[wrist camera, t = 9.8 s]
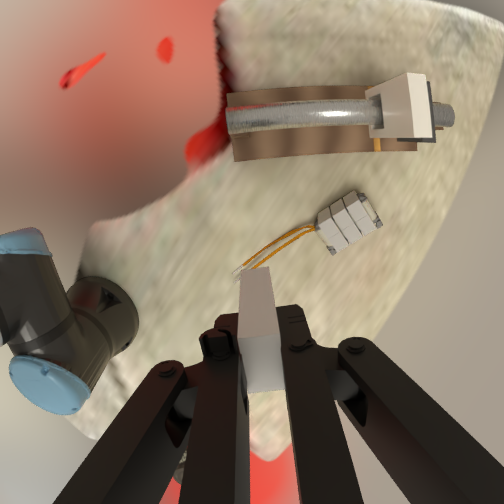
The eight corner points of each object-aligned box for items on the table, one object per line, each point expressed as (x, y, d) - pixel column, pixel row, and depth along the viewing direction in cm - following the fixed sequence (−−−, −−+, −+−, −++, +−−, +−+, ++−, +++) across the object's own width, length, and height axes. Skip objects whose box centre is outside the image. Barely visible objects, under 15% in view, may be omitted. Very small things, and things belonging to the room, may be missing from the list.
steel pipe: (230, 136, 35) (228, 135, 32) (227, 108, 34) (224, 104, 31) (442, 128, 34) (456, 128, 30) (440, 103, 32) (453, 102, 29)
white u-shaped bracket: (369, 137, 36) (414, 137, 24) (364, 90, 34) (406, 72, 22) (398, 137, 36) (449, 138, 24) (393, 91, 34) (442, 76, 22)
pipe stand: (235, 161, 46) (229, 165, 36) (227, 95, 42) (219, 81, 33) (413, 150, 44) (447, 154, 34) (407, 89, 41) (440, 79, 31)
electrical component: (255, 288, 56) (250, 305, 51) (233, 262, 54) (226, 277, 50) (377, 215, 47) (384, 227, 42) (358, 183, 45) (363, 191, 41)
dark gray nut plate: (397, 141, 36) (422, 142, 30) (391, 88, 34) (416, 80, 27) (409, 141, 36) (436, 142, 29) (403, 89, 34) (429, 81, 27)
